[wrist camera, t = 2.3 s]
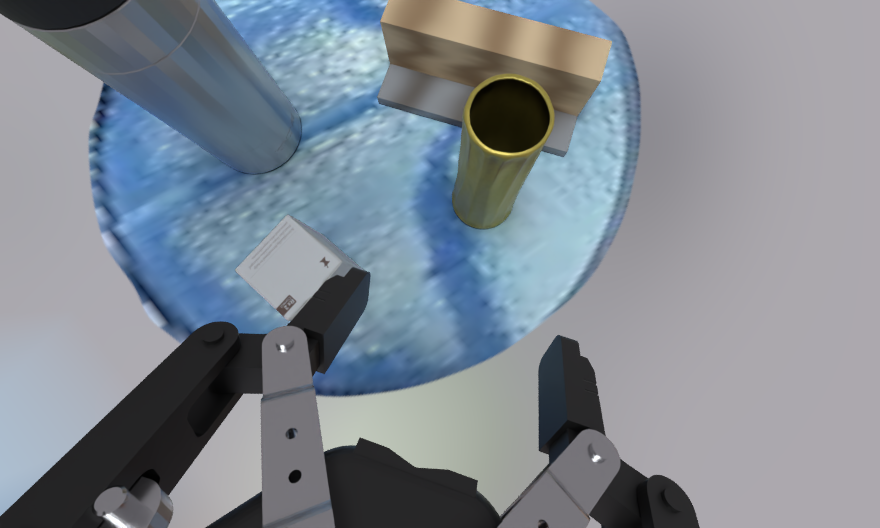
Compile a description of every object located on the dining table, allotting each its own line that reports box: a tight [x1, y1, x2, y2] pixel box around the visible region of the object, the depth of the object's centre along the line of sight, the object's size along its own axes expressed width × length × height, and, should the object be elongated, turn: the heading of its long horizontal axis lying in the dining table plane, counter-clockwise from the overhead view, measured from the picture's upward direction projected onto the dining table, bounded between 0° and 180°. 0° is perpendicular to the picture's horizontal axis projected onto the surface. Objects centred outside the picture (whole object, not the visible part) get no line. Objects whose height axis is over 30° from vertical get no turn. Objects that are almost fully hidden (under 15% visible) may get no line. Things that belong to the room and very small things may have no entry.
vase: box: [452, 73, 555, 229], centre depth 26 cm, size 6×6×14 cm
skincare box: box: [235, 215, 363, 321], centre depth 28 cm, size 6×6×7 cm
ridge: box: [377, 0, 612, 157], centre depth 32 cm, size 20×12×6 cm, turn 72°
